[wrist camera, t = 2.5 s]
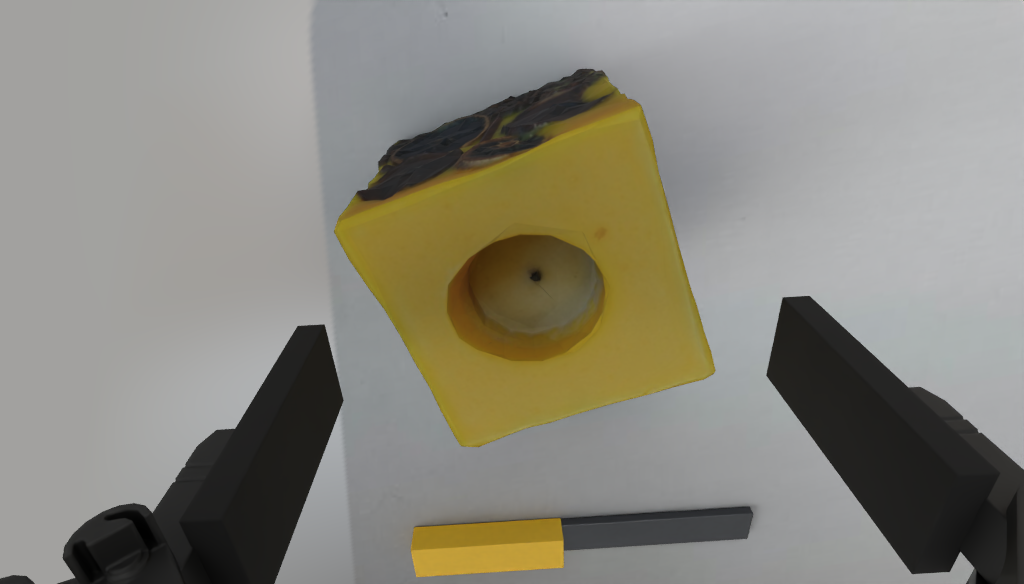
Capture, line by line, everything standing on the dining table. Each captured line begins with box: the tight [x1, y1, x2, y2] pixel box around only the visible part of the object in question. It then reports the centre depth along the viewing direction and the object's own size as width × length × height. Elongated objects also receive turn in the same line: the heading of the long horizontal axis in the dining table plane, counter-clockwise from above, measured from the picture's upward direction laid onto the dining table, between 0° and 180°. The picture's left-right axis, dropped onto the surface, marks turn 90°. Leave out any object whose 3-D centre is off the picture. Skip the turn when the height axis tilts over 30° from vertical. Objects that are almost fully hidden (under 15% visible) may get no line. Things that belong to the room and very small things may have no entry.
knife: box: [411, 507, 753, 577], centre depth 37 cm, size 23×3×2 cm, turn 93°
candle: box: [334, 69, 715, 447], centre depth 22 cm, size 10×10×10 cm
